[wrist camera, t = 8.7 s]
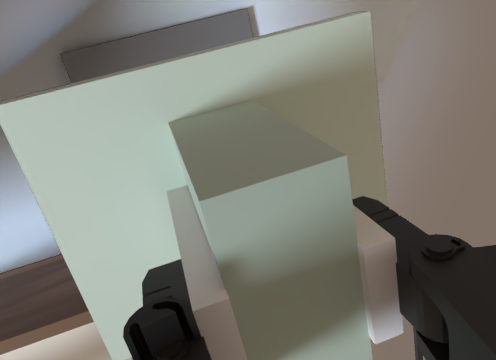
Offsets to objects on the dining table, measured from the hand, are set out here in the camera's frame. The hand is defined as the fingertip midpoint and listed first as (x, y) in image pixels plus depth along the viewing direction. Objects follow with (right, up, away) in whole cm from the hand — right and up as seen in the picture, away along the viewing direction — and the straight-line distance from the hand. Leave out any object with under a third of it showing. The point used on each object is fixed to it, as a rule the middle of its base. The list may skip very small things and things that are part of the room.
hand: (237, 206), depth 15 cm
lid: (0, +1, +2) cm, 2 cm away
